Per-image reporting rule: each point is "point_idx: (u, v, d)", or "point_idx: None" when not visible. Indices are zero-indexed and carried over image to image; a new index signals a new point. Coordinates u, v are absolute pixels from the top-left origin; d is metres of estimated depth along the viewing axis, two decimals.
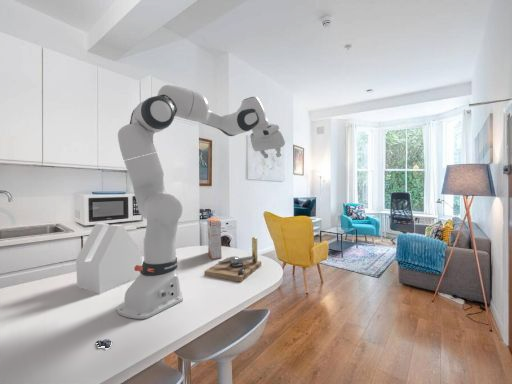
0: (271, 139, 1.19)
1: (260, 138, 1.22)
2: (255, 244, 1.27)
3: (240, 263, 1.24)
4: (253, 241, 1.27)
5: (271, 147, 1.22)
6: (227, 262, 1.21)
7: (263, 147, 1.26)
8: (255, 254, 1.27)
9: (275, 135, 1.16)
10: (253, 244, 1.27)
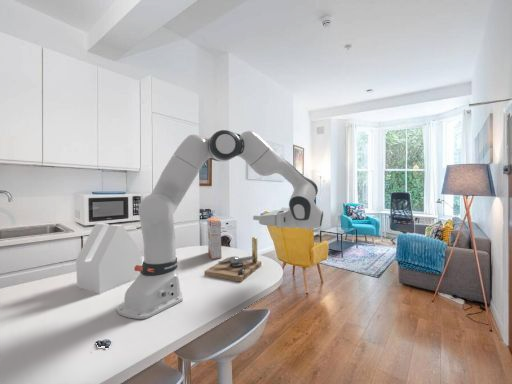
0: None
1: (279, 210, 1.16)
2: (255, 244, 1.27)
3: (240, 263, 1.24)
4: (253, 241, 1.27)
5: (265, 214, 1.15)
6: (227, 262, 1.21)
7: (271, 212, 1.20)
8: (255, 254, 1.27)
9: (272, 217, 1.08)
10: (253, 244, 1.27)
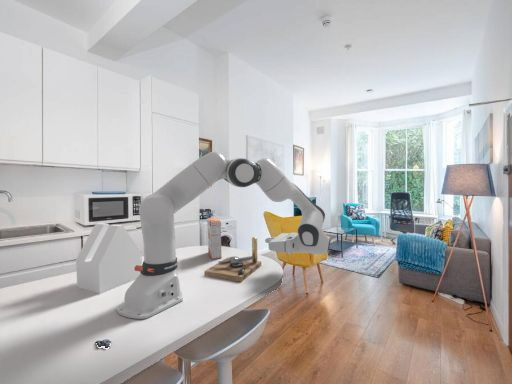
0: (281, 241, 1.16)
1: (288, 235, 1.20)
2: (255, 244, 1.27)
3: (240, 263, 1.24)
4: (253, 241, 1.27)
5: (274, 239, 1.19)
6: (227, 262, 1.21)
7: (279, 236, 1.24)
8: (255, 254, 1.27)
9: (281, 243, 1.12)
10: (253, 244, 1.27)
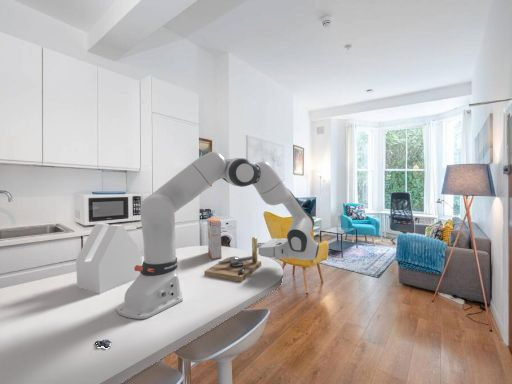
0: None
1: (278, 241, 1.23)
2: (255, 244, 1.27)
3: (240, 263, 1.24)
4: (253, 241, 1.27)
5: (264, 244, 1.22)
6: (227, 262, 1.21)
7: (269, 241, 1.27)
8: (255, 254, 1.27)
9: (271, 249, 1.15)
10: (253, 244, 1.27)
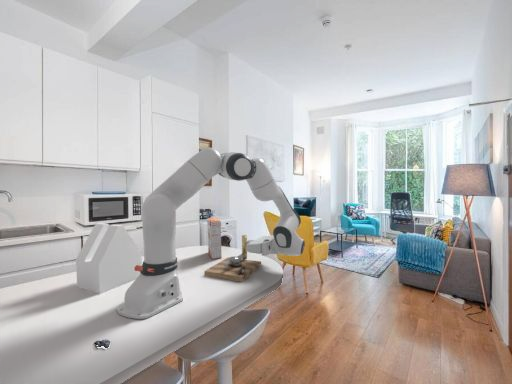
0: None
1: (266, 238, 1.28)
2: None
3: (239, 262, 1.26)
4: (244, 239, 1.32)
5: (253, 241, 1.27)
6: (231, 263, 1.20)
7: (259, 239, 1.32)
8: (246, 251, 1.33)
9: (258, 245, 1.20)
10: (244, 242, 1.32)
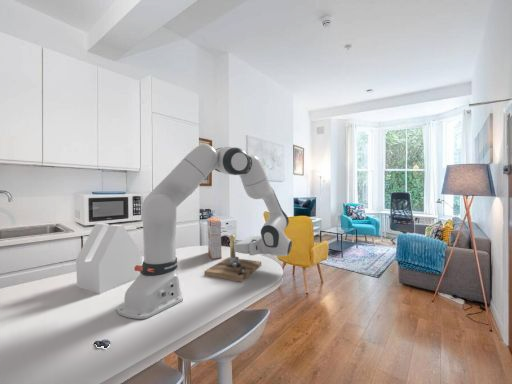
0: None
1: (254, 238, 1.28)
2: None
3: None
4: (234, 238, 1.33)
5: (240, 241, 1.28)
6: (236, 263, 1.20)
7: (247, 239, 1.32)
8: None
9: (245, 245, 1.21)
10: None
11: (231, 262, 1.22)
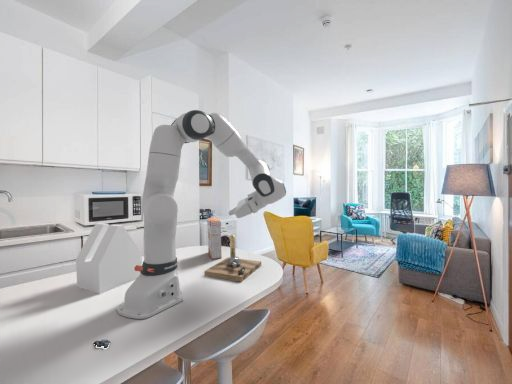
0: None
1: (246, 198, 1.24)
2: None
3: None
4: (234, 238, 1.33)
5: (236, 207, 1.22)
6: (236, 263, 1.20)
7: (239, 204, 1.27)
8: None
9: (246, 206, 1.16)
10: (234, 241, 1.33)
11: (231, 262, 1.22)
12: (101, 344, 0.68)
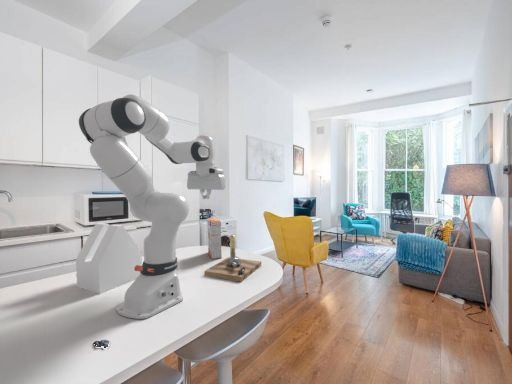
0: (213, 179, 1.22)
1: (202, 175, 1.22)
2: None
3: None
4: (234, 238, 1.33)
5: (210, 187, 1.22)
6: (236, 263, 1.20)
7: (200, 186, 1.24)
8: None
9: (220, 176, 1.20)
10: (234, 241, 1.33)
11: (231, 262, 1.22)
12: (101, 344, 0.68)
